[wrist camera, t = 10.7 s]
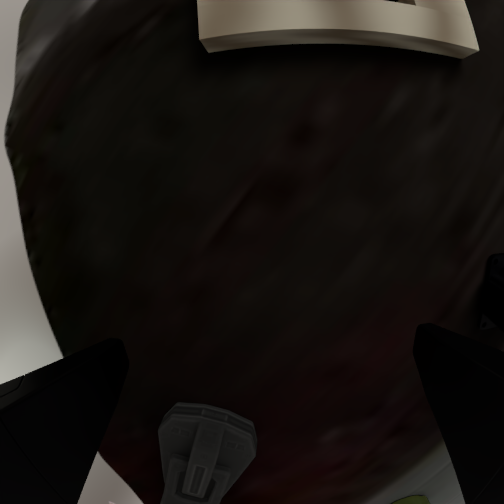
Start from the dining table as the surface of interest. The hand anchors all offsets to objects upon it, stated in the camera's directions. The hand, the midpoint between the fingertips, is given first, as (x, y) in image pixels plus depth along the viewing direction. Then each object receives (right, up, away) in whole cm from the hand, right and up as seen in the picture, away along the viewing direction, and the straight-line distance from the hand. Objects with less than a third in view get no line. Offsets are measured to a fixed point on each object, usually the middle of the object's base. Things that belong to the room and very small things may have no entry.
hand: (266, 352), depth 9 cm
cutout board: (+5, +23, +6) cm, 24 cm away
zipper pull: (-6, -22, +20) cm, 30 cm away
